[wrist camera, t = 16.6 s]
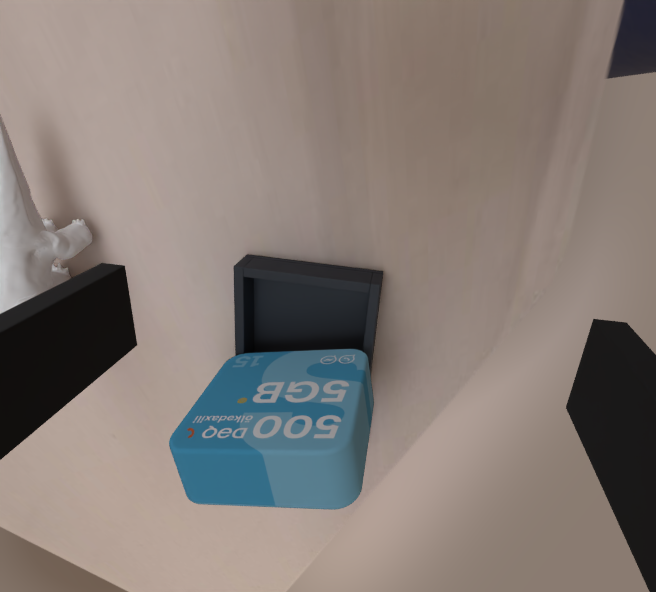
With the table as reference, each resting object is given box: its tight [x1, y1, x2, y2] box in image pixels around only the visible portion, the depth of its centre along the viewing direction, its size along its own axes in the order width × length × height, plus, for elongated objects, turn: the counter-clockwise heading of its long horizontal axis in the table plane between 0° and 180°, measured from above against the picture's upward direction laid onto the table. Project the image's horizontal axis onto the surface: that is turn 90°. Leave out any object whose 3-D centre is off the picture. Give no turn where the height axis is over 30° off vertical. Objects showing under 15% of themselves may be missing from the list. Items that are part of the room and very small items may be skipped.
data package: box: [169, 349, 374, 509], centre depth 32 cm, size 12×4×12 cm, turn 98°
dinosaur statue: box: [0, 115, 92, 314], centre depth 36 cm, size 7×24×11 cm, turn 1°
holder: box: [234, 255, 383, 376], centre depth 39 cm, size 12×18×3 cm, turn 176°
